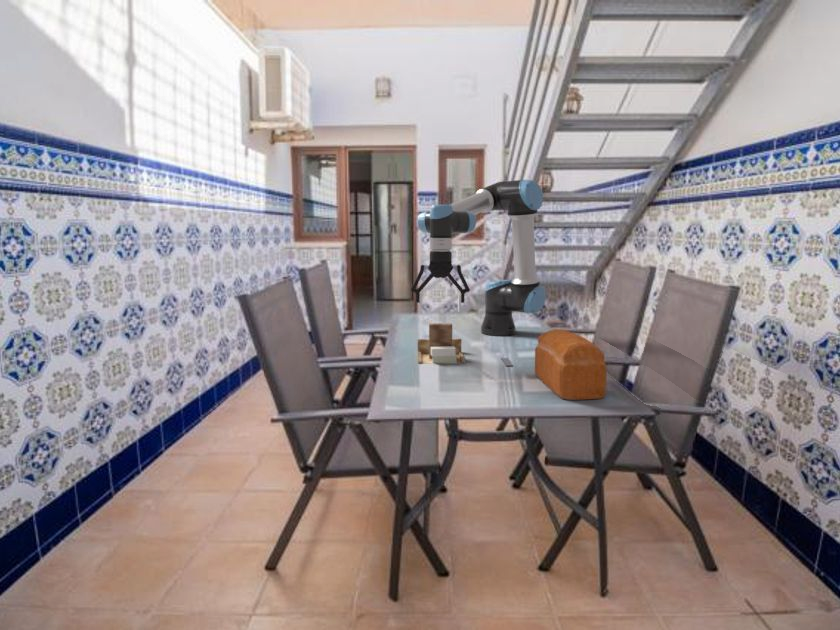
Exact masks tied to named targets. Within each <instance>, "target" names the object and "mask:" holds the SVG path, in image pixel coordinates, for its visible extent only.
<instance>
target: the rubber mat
mask: <svg viewBox="0 0 840 630" xmlns="http://www.w3.org/2000/svg"><path fill="white" fill-rule="evenodd" d="M500 360H501V361H502V363H503V365H504V366H505V367H514V365H513V364H512V362H511V361H510V359H509V358H508V357H500Z"/></svg>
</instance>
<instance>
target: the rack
mask: <svg viewBox="0 0 840 630" xmlns="http://www.w3.org/2000/svg"><path fill="white" fill-rule="evenodd" d="M452 346H454V347H455V353H456V356H457V359H456V363H455V364H466V360H465V358H464V357H465V356H464V354H463V352H462V338H452ZM417 364H419V365H420V364H422V365H423V364H425V365H432V364H433V365H435V364H438V365H439V364H441V365H442V364H444V365H445V364H448V365H449V364H450V363H433V359H429V338H417Z"/></svg>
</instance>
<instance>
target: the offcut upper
mask: <svg viewBox="0 0 840 630" xmlns="http://www.w3.org/2000/svg"><path fill="white" fill-rule="evenodd" d="M431 355H432V356H455V347H454V346H442V347H431Z"/></svg>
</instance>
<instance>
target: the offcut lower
mask: <svg viewBox="0 0 840 630" xmlns="http://www.w3.org/2000/svg"><path fill="white" fill-rule="evenodd" d="M456 359H457V356H456V353H455V356H433V363H449V364H457V363H456Z"/></svg>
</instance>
